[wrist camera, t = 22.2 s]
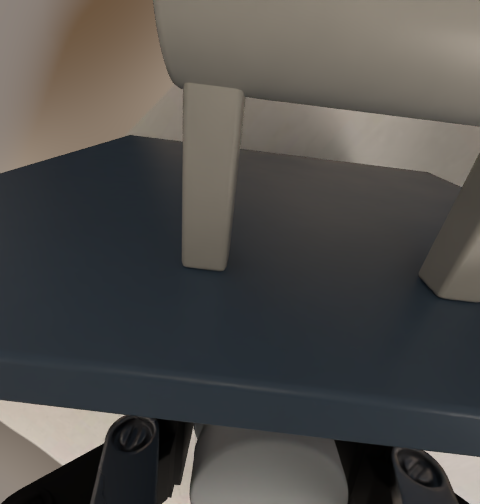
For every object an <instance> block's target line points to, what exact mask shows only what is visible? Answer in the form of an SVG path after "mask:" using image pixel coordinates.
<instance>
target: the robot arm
mask: <svg viewBox="0 0 480 504" xmlns="http://www.w3.org/2000/svg"><path fill="white" fill-rule="evenodd" d="M192 430H193V423H191V422H182V421H174V420H165V419H157V418H149V417H140V416H132V415H125V416H123V417H121V418H119V419H118V420H117V421H115V422H114V423H113V425H112V426H111V427H110V428H109V430H108V432H107V435H106V438H105V442H104V444H102V445H100V446H98V447H96V448H95V449H93V450H91V451H89V452H87V453H86V454H84V455H82V456H80V457H78V458H76V459H75V460H73V461H71V462H69V463H67V464H65V465H64V466H62V467H60V468H58V469H56V470H54V471H53V472H51V473H49V474H47V475H45V476H44V477H42V478H40V479H38V480H36V481H34V482H33V483H31V484H29V485H27V486H25V487H23V488H22V489H20V490H18V491H17V492H15V493H14V494H12V495H11V496H9V497H8V498H7V499H6V500H5V501H3V502H2V503H1V504H162V503H163V502H164V501H166V500H167V498H168V497H171V496H172V492H173V488H174V485H180V484H181V481H182V476H183V471H184V467H185V462H186V457H187V453H188V448H189V443H190V439H191V434H192ZM334 441H335V444H336V447H337V451H338V454H339V457H340V461H341V464H342V467H343V470H344V474H345V477H346V481H347V486H348V503H347V504H469V503H468V502H466V501H465V500H464V499H462V498H461V497H459V496H458V495H457V494H455V493H454V491H453V489H452V487H451V484H450V482H449V479H448V477H447V475H446V473H445V471H444V470H443V468H442V467H441V466H440V464H439V463H438V462H437V461H436V460H435V459H434V458H433V457H432V456H430V455H429V454H428V453H426V452H425V451H423V450H418V449H410V448H401V447H393V446H384V445H376V444H367V443H359V442H351V441H342V440H334Z"/></svg>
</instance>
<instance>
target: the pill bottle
mask: <svg viewBox="0 0 480 504" xmlns="http://www.w3.org/2000/svg"><path fill="white" fill-rule="evenodd" d="M193 426H194V430H195V434H196V437H197V439H198V440H197V443H196V446H195V451H194V461H193V469H192V476H191V483H190V501H191V504H347V503H348V486H347V481H346V477H345V474H344V470H343V467H342V464H341V461H340V457H339V454H338V451H337V447H336V444H335V441H334V439H325V438H317V437H309V436H300V435H292V434H283V433H275V432H266V431H258V430H250V429H241V428H233V427H224V426H216V425H208V424H199V423H193Z"/></svg>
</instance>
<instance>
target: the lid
mask: <svg viewBox="0 0 480 504" xmlns="http://www.w3.org/2000/svg"><path fill="white" fill-rule="evenodd" d="M153 4H154V12H155V20H156V26H157V32H158V37H159V42H160V47H161V51H162V54H163V58H164V62H165V65H166V68H167V71H168V74H169V76H170V78H171V80H172V81H173V83H174V84H175V85H176V86H178V87H180V88H181V89H183V142H181V141H173V140H165V139H157V138H149V137H141V136H133V135H129V136H125V137H122V138H119V139H115V140H112V141H109V142H105V143H102V144H98V145H95V146H92V147H88V148H85V149H81V150H79V151H75V152H71V153H68V154H65V155H61V156H58V157H54V158H51V159H48V160H45V161H41V162H38V163H34V164H31V165H27V166H24V167H21V168H18V169H14V170H11V171H7V172H4V173H0V400H6V401H14V402H22V403H31V404H39V405H48V406H56V407H64V408H73V409H81V410H90V411H98V412H107V413H115V414H123V415H132V416H140V417H149V418H157V419H165V420H174V421H182V422H191V423H199V424H208V425H216V426H224V427H233V428H241V429H250V430H258V431H266V432H275V433H283V434H292V435H300V436H309V437H317V438H325V439H334V440H342V441H351V442H359V443H367V444H376V445H384V446H393V447H401V448H410V449H418V450H426V451H435V452H443V453H452V454H460V455H468V456H477V457H480V153H479V155H478V157H477V159H476V161H475V163H474V165H473V167H472V169H471V171H470V173H469V175H468V177H467V179H466V181H465V183H464V185H463V187H460V186H458V185H455V184H453V183H451V182H449V181H446V180H444V179H442V178H440V177H437V176H435V175H433V174H430V173H428V172H422V171H414V170H406V169H398V168H390V167H381V166H373V165H365V164H357V163H349V162H341V161H333V160H325V159H317V158H309V157H301V156H293V155H285V154H277V153H269V152H261V151H253V150H245V149H240V145H241V135H242V126H243V116H244V107H245V97H249V98H257V99H265V100H273V101H281V102H289V103H297V104H305V105H313V106H320V107H328V108H336V109H344V110H352V111H360V112H368V113H376V114H384V115H392V116H400V117H408V118H416V119H424V120H432V121H439V122H447V123H455V124H463V125H471V126H479V127H480V0H153Z"/></svg>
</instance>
